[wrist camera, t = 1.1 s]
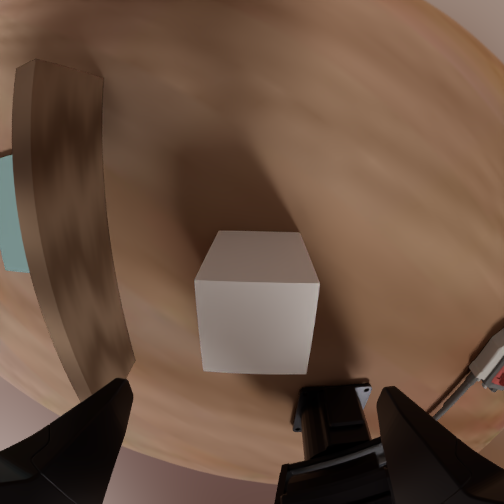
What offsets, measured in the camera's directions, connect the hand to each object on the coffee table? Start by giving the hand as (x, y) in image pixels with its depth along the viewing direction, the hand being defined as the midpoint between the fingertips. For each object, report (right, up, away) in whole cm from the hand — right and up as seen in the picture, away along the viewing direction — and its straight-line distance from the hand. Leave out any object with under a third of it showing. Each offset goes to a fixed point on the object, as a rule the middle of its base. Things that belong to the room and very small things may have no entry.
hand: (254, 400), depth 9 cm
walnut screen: (-11, +6, +10) cm, 16 cm away
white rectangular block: (0, +4, +10) cm, 11 cm away
